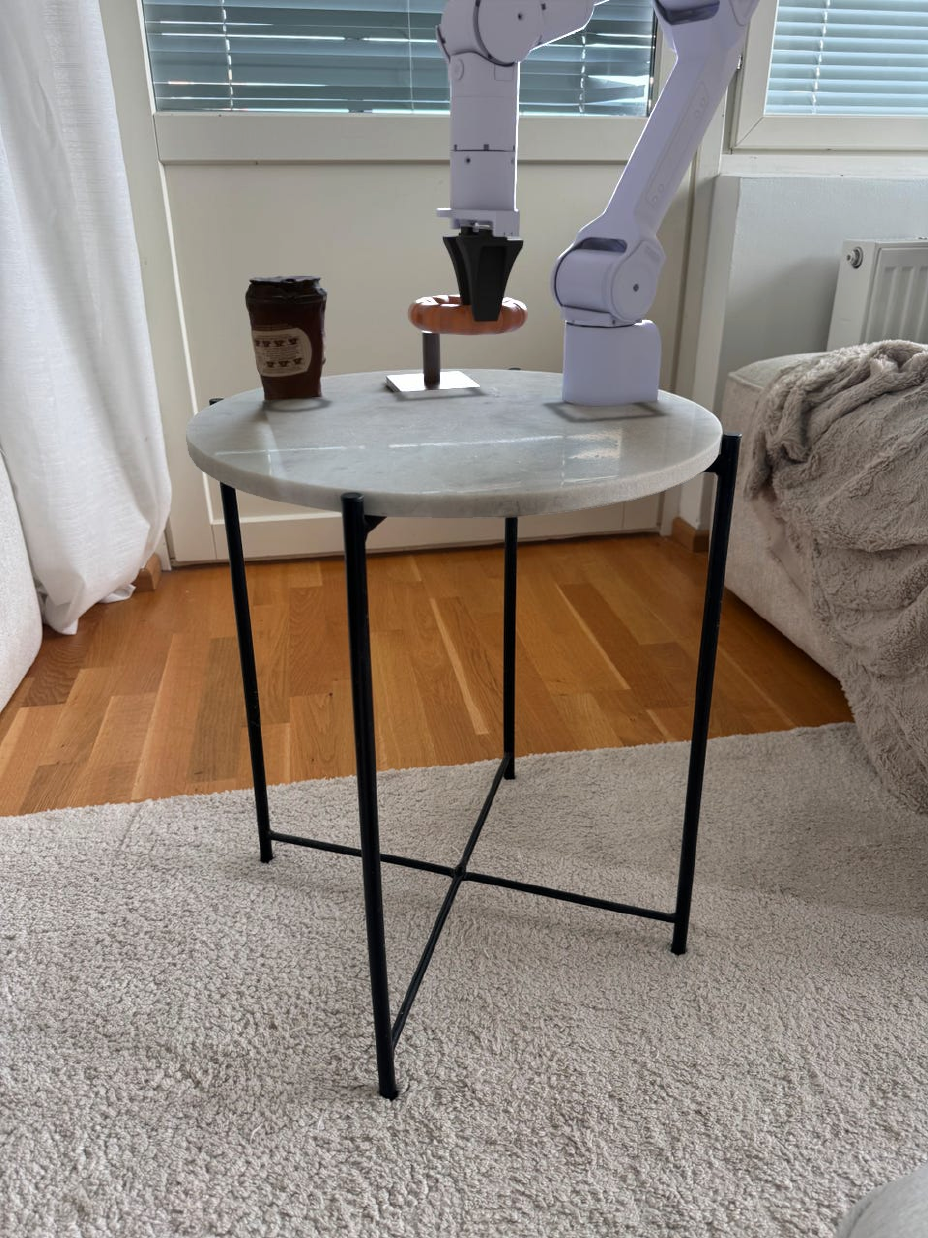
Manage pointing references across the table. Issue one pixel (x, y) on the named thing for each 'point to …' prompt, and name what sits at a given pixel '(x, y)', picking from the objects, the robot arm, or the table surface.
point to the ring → (463, 316)
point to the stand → (430, 371)
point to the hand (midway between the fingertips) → (480, 318)
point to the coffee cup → (288, 334)
